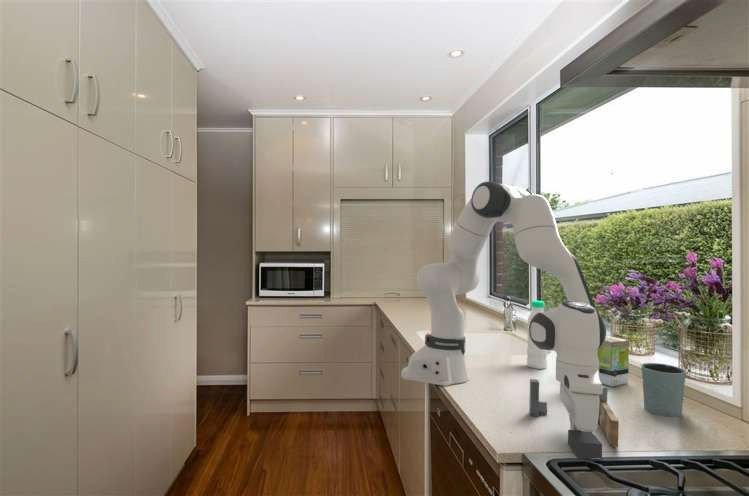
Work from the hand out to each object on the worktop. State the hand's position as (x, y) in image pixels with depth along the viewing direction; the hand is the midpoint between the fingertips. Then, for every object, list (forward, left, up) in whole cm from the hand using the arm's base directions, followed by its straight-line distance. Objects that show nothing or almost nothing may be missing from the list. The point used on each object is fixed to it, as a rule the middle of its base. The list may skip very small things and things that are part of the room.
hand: (575, 434), depth 93 cm
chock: (+1, -4, -2) cm, 5 cm away
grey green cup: (+28, +28, -2) cm, 40 cm away
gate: (+8, +6, -1) cm, 10 cm away
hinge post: (+9, +14, -2) cm, 17 cm away
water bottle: (0, +64, -2) cm, 64 cm away
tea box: (+19, +55, -2) cm, 58 cm away
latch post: (-6, +14, -2) cm, 16 cm away
